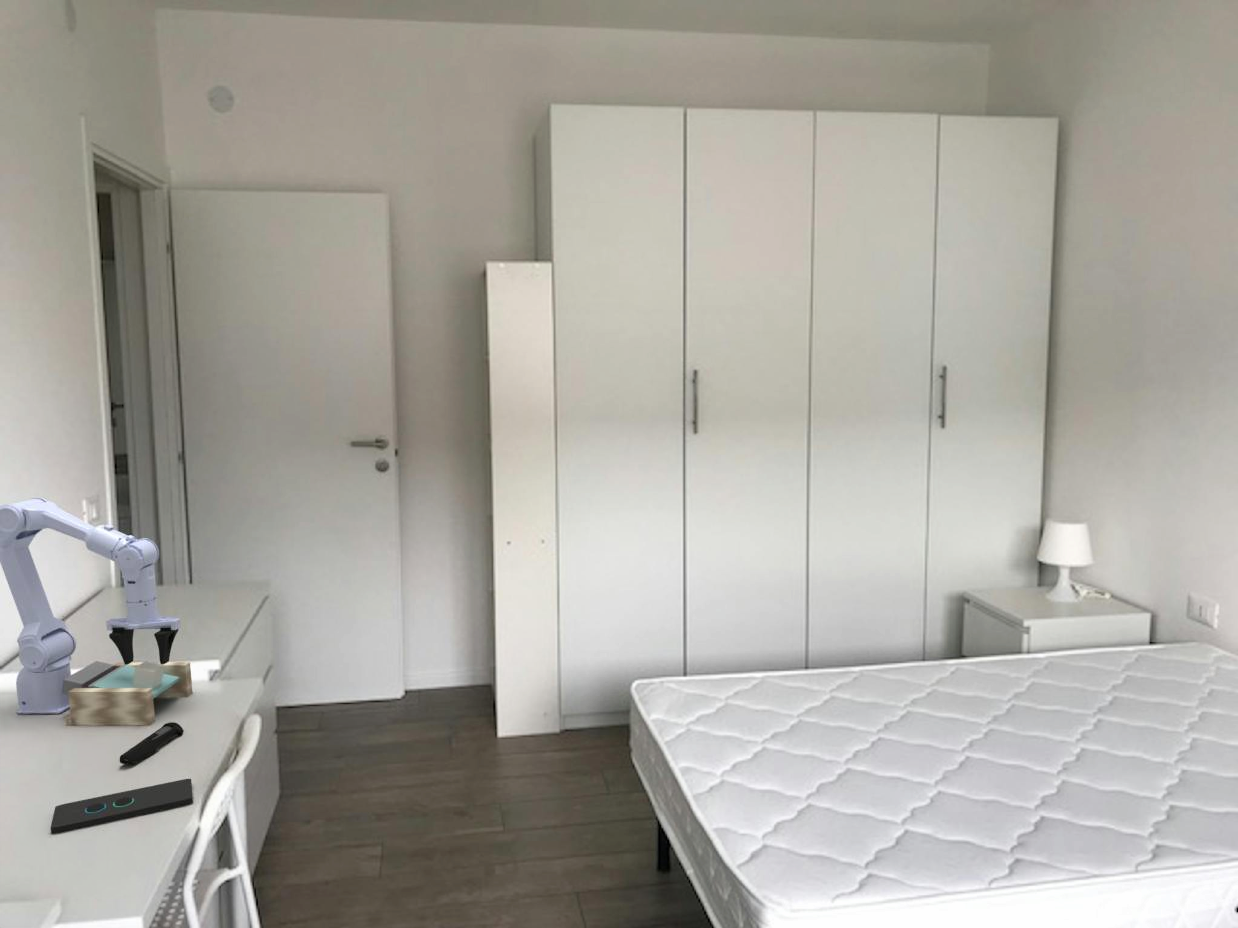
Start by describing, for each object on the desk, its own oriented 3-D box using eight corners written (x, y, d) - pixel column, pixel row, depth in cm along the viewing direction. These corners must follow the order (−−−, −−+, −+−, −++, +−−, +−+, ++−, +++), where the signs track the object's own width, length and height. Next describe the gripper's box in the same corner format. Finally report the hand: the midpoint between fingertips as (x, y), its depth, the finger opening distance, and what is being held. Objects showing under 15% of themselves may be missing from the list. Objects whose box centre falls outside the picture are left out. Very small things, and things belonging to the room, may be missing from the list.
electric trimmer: (113, 770, 163) (112, 753, 163) (168, 733, 178) (166, 717, 178) (133, 771, 163) (131, 754, 162) (185, 734, 178) (184, 718, 177)
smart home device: (55, 804, 148) (191, 776, 157) (56, 814, 148) (191, 785, 157) (49, 827, 140) (192, 797, 149) (50, 838, 141) (193, 807, 150)
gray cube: (132, 685, 187) (135, 667, 187) (143, 678, 191) (145, 660, 191) (151, 690, 187) (153, 671, 187) (161, 683, 191) (164, 665, 191)
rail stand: (66, 725, 182) (63, 691, 182) (116, 693, 199) (113, 662, 198) (149, 725, 182) (146, 691, 181) (192, 692, 199) (190, 662, 198)
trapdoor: (59, 694, 184) (62, 678, 184) (95, 673, 196) (98, 657, 196) (146, 714, 184) (148, 697, 184) (176, 691, 196) (179, 676, 196)
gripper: (95, 604, 184) (101, 669, 185) (165, 604, 183) (170, 669, 185) (115, 595, 191) (121, 657, 192) (183, 594, 190) (188, 657, 192)
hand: (146, 662), depth 189 cm, fingers open, 7 cm apart
